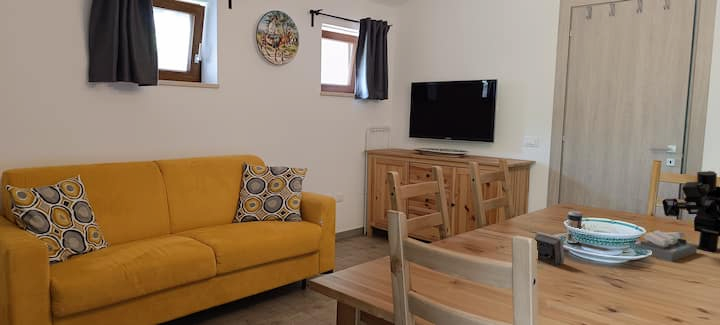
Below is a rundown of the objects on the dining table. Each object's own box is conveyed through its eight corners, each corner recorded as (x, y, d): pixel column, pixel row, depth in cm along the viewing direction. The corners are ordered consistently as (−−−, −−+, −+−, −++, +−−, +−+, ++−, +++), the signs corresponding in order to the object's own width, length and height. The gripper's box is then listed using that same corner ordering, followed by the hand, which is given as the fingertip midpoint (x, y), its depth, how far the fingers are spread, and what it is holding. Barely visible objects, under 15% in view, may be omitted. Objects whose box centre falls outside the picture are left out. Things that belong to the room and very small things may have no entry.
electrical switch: (564, 264, 157) (565, 236, 155) (556, 268, 154) (556, 240, 152) (538, 256, 164) (539, 230, 162) (530, 260, 161) (530, 233, 159)
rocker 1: (648, 236, 175) (650, 231, 174) (668, 246, 169) (670, 241, 169) (643, 237, 172) (645, 233, 172) (663, 247, 167) (665, 242, 166)
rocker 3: (664, 237, 181) (663, 232, 182) (684, 237, 176) (683, 231, 176) (659, 238, 179) (658, 233, 179) (679, 238, 173) (679, 233, 174)
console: (660, 244, 184) (661, 233, 184) (696, 253, 175) (697, 241, 174) (634, 252, 173) (635, 240, 173) (671, 261, 163) (672, 249, 163)
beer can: (580, 245, 179) (583, 213, 178) (567, 244, 180) (570, 212, 179) (577, 241, 184) (580, 211, 183) (564, 240, 185) (567, 210, 184)
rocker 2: (656, 234, 178) (658, 229, 177) (675, 243, 173) (678, 239, 172) (651, 235, 176) (653, 231, 175) (670, 245, 171) (673, 240, 170)
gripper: (670, 181, 180) (649, 191, 172) (728, 179, 164) (708, 190, 156) (675, 210, 181) (655, 221, 172) (734, 210, 165) (714, 223, 157)
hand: (681, 213), depth 164 cm, fingers open, 9 cm apart
